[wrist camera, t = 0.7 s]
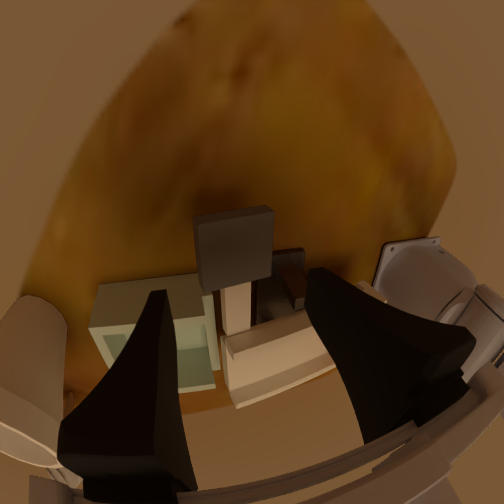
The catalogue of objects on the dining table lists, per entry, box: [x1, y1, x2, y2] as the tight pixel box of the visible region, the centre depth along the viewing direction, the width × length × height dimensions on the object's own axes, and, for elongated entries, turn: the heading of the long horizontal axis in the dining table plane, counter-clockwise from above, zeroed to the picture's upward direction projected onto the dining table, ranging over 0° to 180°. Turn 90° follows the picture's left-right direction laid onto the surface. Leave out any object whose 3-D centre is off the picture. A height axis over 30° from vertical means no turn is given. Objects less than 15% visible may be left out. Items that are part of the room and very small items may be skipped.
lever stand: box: [255, 248, 307, 325], centre depth 24 cm, size 4×11×6 cm, turn 179°
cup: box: [88, 273, 220, 393], centre depth 21 cm, size 9×9×5 cm
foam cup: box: [0, 295, 68, 469], centre depth 15 cm, size 10×9×13 cm
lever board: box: [192, 205, 387, 409], centre depth 20 cm, size 14×15×5 cm
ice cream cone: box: [45, 392, 83, 488], centre depth 20 cm, size 6×6×15 cm
